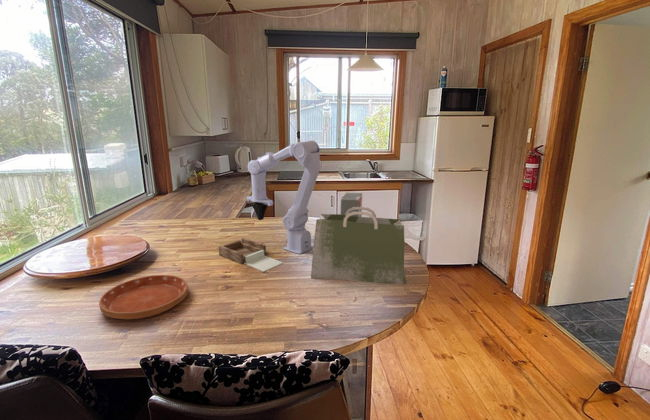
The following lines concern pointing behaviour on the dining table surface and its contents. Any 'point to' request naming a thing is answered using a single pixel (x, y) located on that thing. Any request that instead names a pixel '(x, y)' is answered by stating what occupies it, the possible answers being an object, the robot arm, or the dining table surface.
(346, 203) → the hard drive box
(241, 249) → the groove box
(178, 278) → the saucer
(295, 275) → the dining table surface
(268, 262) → the cover plate
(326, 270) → the grocery bag
